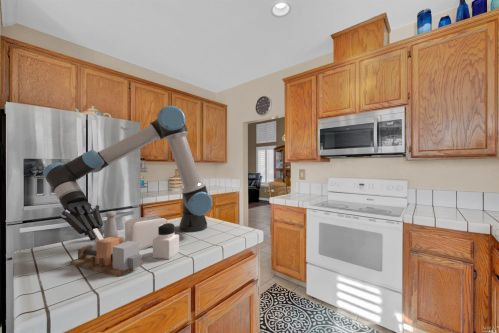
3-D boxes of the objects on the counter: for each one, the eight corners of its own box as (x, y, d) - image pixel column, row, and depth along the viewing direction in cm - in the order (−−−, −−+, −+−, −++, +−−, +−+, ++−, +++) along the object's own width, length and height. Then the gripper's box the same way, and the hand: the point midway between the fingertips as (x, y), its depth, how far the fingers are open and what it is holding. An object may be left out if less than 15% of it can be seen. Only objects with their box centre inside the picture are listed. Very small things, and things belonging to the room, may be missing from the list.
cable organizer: (130, 252, 85) (129, 224, 85) (124, 245, 93) (124, 219, 93) (167, 243, 95) (167, 217, 95) (160, 237, 103) (159, 214, 103)
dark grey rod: (81, 254, 78) (81, 249, 78) (86, 252, 80) (86, 247, 80) (118, 262, 72) (118, 256, 72) (123, 259, 74) (123, 254, 74)
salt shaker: (100, 239, 101) (100, 212, 101) (112, 235, 106) (112, 210, 106) (109, 241, 99) (109, 213, 99) (120, 237, 104) (120, 210, 104)
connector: (112, 268, 70) (112, 246, 70) (128, 260, 76) (128, 240, 76) (129, 271, 67) (129, 249, 67) (144, 263, 73) (144, 243, 73)
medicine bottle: (179, 252, 86) (179, 222, 86) (169, 259, 79) (168, 227, 79) (164, 250, 87) (163, 221, 87) (152, 257, 80) (152, 226, 80)
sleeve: (96, 263, 73) (96, 241, 73) (113, 256, 78) (113, 235, 78) (106, 265, 71) (106, 242, 71) (123, 258, 76) (122, 237, 76)
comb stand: (70, 264, 75) (70, 251, 75) (96, 254, 83) (96, 243, 83) (119, 276, 67) (119, 262, 67) (142, 264, 75) (142, 251, 75)
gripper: (85, 200, 88) (114, 245, 83) (46, 205, 76) (76, 259, 70) (93, 188, 87) (123, 233, 81) (55, 191, 74) (87, 245, 69)
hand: (102, 245), depth 76 cm, fingers closed
